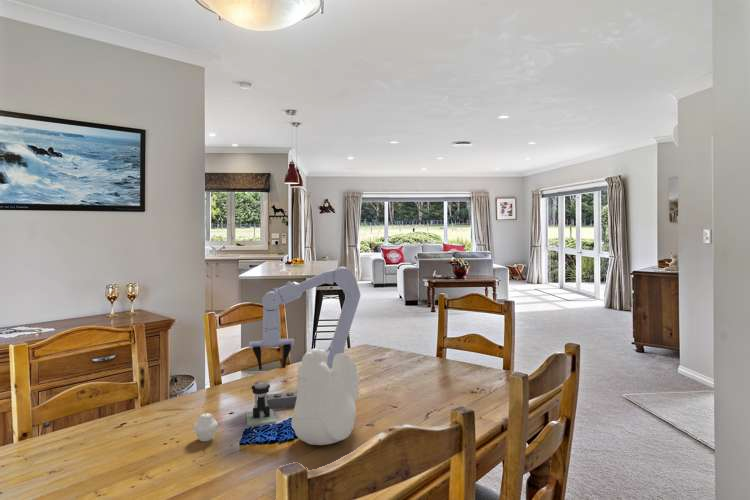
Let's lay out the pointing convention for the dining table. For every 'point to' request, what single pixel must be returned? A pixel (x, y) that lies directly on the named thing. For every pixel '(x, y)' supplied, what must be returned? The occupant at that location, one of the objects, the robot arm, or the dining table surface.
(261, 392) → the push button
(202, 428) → the grey rounded lump
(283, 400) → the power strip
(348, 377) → the white rounded upright lump
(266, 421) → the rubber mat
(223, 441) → the dining table surface
